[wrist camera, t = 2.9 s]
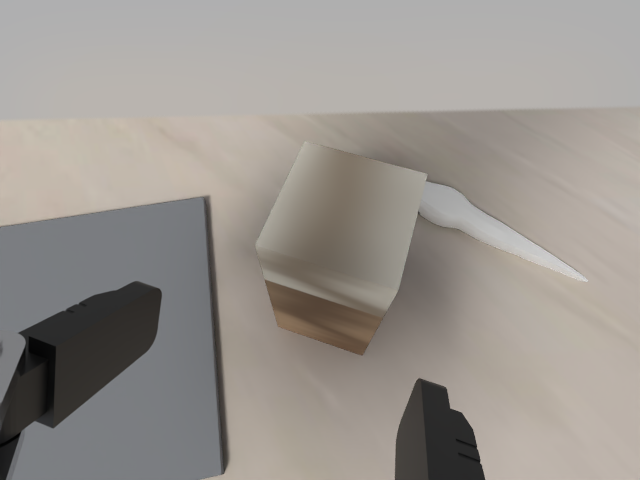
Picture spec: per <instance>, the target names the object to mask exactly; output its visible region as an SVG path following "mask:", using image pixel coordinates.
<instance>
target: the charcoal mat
mask: <svg viewBox="0 0 640 480" xmlns="http://www.w3.org/2000/svg"><path fill="white" fill-rule="evenodd" d="M134 281H139V282H142V283H145V284H148V285H151V286H154V287H157V288H159V289H160V290H161V292H162V300H161V307H160V315H159V323H158V330H157V335H156V338H155V340H154V343H153V344H152V346H151V347H150V349H149V350H148V351H147V352H146V353H145V354H144V355H142V356H141V357H140V358H139V359H137V360H136V361H135V362H134V363H133V364H131V365H130V366H129V367H128V368H126V369H125V370H124V371H123V372H122V373H120V374H119V375H118V376H117V377H116V378H114V379H113V380H112V381H111V382H109V383H108V384H107V385H106V386H105V387H103V388H102V389H101V390H100V391H98V392H97V393H96V394H95V395H94V396H92V397H91V398H90V399H89V400H87V401H86V402H85V403H84V404H83V405H81V406H80V407H79V408H78V409H77V410H75V411H74V412H73V413H72V414H70V415H69V416H68V417H67V418H66V419H64V420H63V421H62V422H61V423H59V424H58V425H57V426H56V427H55V428H50V427H48V426H45V425H43V424H41V423H38V422H36V421H34V422H33V423H31V424H30V425H29V426H27V427H26V428H25V437H24V441H23V444H22V448H21V451H20V454H19V457H18V461H17V464H16V467H15V470H14V474H13V477H12V480H200V479H204V478H209V477H213V476H217V475H222V474H224V467H223V452H222V437H221V422H220V407H219V393H218V378H217V363H216V348H215V334H214V319H213V304H212V289H211V275H210V260H209V245H208V230H207V215H206V202H205V200H204V197H199V198H193V199H186V200H179V201H173V202H166V203H159V204H153V205H146V206H139V207H133V208H126V209H119V210H113V211H106V212H99V213H92V214H86V215H79V216H72V217H66V218H59V219H52V220H46V221H39V222H32V223H26V224H19V225H12V226H6V227H0V330H7V331H12V332H16V333H19V332H21V331H23V330H25V329H27V328H29V327H31V326H33V325H35V324H37V323H39V322H41V321H43V320H45V319H47V318H49V317H51V316H53V315H55V314H57V313H59V312H61V311H66V309H67V308H69V307H71V306H73V305H75V304H79V302H81V301H83V300H85V299H87V298H89V297H91V296H93V295H96V294H100V293H104V292H109V291H113V290H115V291H116V290H118V289H120V288H122V287H124V286H126V285H128V284H130V283H132V282H134Z"/></svg>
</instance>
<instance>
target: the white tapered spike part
mask: <svg viewBox="0 0 640 480" xmlns="http://www.w3.org/2000/svg"><path fill="white" fill-rule="evenodd" d="M419 212H420V213H419V215H421V216H422V217H424V218H425V219H427V220H429V221H430V222H432V223H434V224H436V225H439V226H441V227H449V228H456V229H459V230H461V231H463V232H464V233H466V234H468V235H470V236H472V237H473V238H475V239H477V240H479V241H481V242H484V243H486V244H488V245H490V246H493V247H495V248H498V249H500V250H503V251H505V252H508V253H511V254H514V255H516V256H519V257H520V258H523V259H525V260H528V261H530V262H533V263H535V264H538V265H541V266H544V267H547V268H549V269H552V270H554V271H557V272H560V273H562V274H565V275H567V276H570V277H572V278H574V279H577V280H579V281H583V282H587V281H588V280H587V279H586V278H585V277H584V276H583V275H581V274H580V273H579V272H577V271H576V270H574V269H573V268H571V267H570V266H568V265H567V264H565V263H564V262H562V261H561V260H559V259H558V258H556V257H555V256H553V255H552V254H550V253H549V252H547V251H546V250H544V249H542V248H541V247H539V246H538V245H536V244H534V243H533V242H531V241H529V240H528V239H526V238H525V237H523V236H522V235H520V234H519V233H517V232H515V231H514V230H512V229H511V228H509V227H508V226H506V225H505V224H503V223H502V222H500V221H498V220H496V219H494V218H493V217H491V216H489V215H487V214H486V213H484V212H483V211H481V210H479V209H478V208H476V207H475V206H473V205H472V204H471V203H470V202H469V201H468V200H467V198H466V197H465V196H464V195H463V194H461V193H460V192H458V191H457V190H455V189H454V188H451V187H448V186H445V185H440V184H436V183H431V182H427V181H426V183H425V187H424V191H423V195H422V199H421V203H420V207H419Z"/></svg>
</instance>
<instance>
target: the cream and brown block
mask: <svg viewBox="0 0 640 480" xmlns="http://www.w3.org/2000/svg"><path fill="white" fill-rule="evenodd" d="M427 175H428V174H426V173H422V172H419V171H415V170H411V169H407V168H404V167H400V166H396V165H393V164H389V163H385V162H381V161H378V160H374V159H370V158H366V157H363V156H359V155H355V154H351V153H348V152H344V151H340V150H336V149H333V148H329V147H325V146H321V145H318V144H314V143H310V142H306V141H304V143H303V145H302V147H301V149H300V151H299V154H298V156H297V158H296V160H295V162H294V164H293V166H292V168H291V170H290V172H289V174H288V177H287V179H286V181H285V183H284V185H283V187H282V189H281V191H280V193H279V195H278V198H277V200H276V202H275V204H274V206H273V208H272V210H271V212H270V214H269V216H268V218H267V221H266V223H265V225H264V227H263V229H262V231H261V233H260V235H259V237H258V239H257V241H256V244H255V248H256V251H257V255H258V258H259V262H260V265H261V269H262V272H263V276H264V279H265V283H266V286H267V290H268V293H269V296H270V300H271V303H272V307H273V310H274V314H275V317H276V321H277V324H278V327H281V328H284V329H286V330H289V331H292V332H295V333H298V334H301V335H304V336H307V337H310V338H313V339H316V340H318V341H321V342H324V343H327V344H330V345H333V346H336V347H339V348H342V349H345V350H348V351H351V352H353V353H356V354H359V355H363V353H364V351H365V350H366V348H367V346H368V344H369V342H370V341H371V339H372V337H373V335H374V333H375V332H376V330H377V328H378V326H379V324H380V323H381V321H382V319H383V317H384V316H385V314H386V312H387V310H388V308H389V307H390V305H391V303H392V301H393V299H394V298H395V296H396V294H397V292H398V290H399V287H400V283H401V279H402V275H403V271H404V267H405V263H406V259H407V255H408V251H409V247H410V243H411V239H412V235H413V231H414V227H415V223H416V219H417V215H418V211H419V207H420V203H421V199H422V195H423V191H424V187H425V183H426V179H427Z"/></svg>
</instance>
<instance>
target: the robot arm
mask: <svg viewBox="0 0 640 480" xmlns="http://www.w3.org/2000/svg"><path fill="white" fill-rule="evenodd" d="M161 300H162V292H161V290H160V289H159V288H157V287H154V286H151V285H148V284H145V283H142V282H139V281H134V282H132V283H130V284H128V285H126V286H124V287H122V288H120V289H118V290H116V291H115V290H113V291H109V292H104V293H100V294H96V295H93V296H91V297H89V298H87V299H85V300H83V301H81V302H79V304H75V305H73V306H71V307H69V308H67V309H66V311H61V312H59V313H57V314H55V315H53V316H51V317H49V318H47V319H45V320H43V321H41V322H39V323H37V324H35V325H33V326H31V327H29V328H27V329H25V330H23V331H21V332H19V333H16V332H12V331H7V330H0V480H12V477H13V474H14V470H15V467H16V464H17V461H18V457H19V454H20V451H21V448H22V444H23V441H24V437H25V428H26V427H27V426H29V425H30V424H31V423H33V422H34V421H36V422H38V423H41V424H43V425H45V426H48V427H50V428H55V427H56V426H57V425H58V424H59V423H61V422H62V421H63V420H64V419H66V418H67V417H68V416H69V415H70V414H72V413H73V412H74V411H75V410H77V409H78V408H79V407H80V406H81V405H83V404H84V403H85V402H86V401H87V400H89V399H90V398H91V397H92V396H94V395H95V394H96V393H97V392H98V391H100V390H101V389H102V388H103V387H105V386H106V385H107V384H108V383H109V382H111V381H112V380H113V379H114V378H116V377H117V376H118V375H119V374H120V373H122V372H123V371H124V370H125V369H126V368H128V367H129V366H130V365H131V364H133V363H134V362H135V361H136V360H137V359H139V358H140V357H141V356H142V355H144V354H145V353H146V352H147V351H148V350H149V349H150V347H151V346H152V344H153V343H154V340H155V338H156V335H157V330H158V323H159V315H160V307H161ZM480 461H481V460H480V456H479V452H478V450H477V444H476V440H475V436H474V432H473V429H472V427H471V426H470V424H469V423H468V421H467V420H466V418H465V417H464V415H463V414H462V413H461V412H458V411H456V410H453V409H450V404H449V399H448V393H447V389H446V387H444V386H441V385H438V384H435V383H432V382H429V381H426V380H423V379H420V378H419V379H418V380H417V381H416V383H415V386H414V388H413V391H412V393H411V396H410V398H409V401H408V404H407V406H406V409H405V411H404V414H403V417H402V419H401V422H400V425H399V429H398V433H397V439H396V458H395V480H485V477H484V473H483V469H482V465H481V464H480Z"/></svg>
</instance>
